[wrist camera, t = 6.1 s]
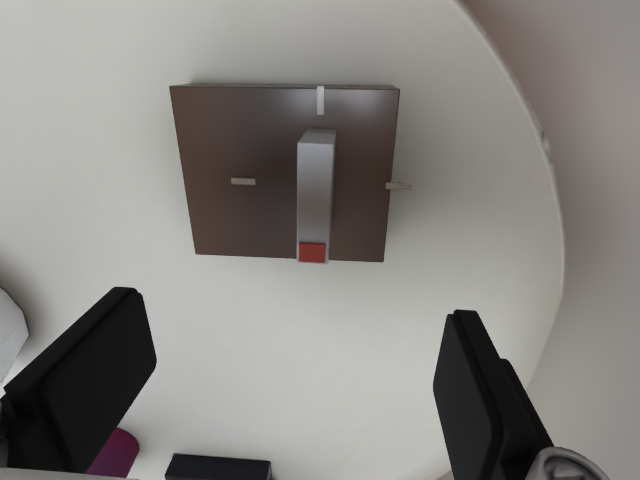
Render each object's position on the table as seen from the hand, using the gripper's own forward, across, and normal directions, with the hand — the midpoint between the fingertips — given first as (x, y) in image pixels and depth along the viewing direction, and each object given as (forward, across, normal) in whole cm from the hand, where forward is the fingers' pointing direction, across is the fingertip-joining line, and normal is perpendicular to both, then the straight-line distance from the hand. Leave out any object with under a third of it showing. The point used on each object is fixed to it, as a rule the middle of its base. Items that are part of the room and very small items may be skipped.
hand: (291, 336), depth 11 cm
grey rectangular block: (+11, 0, -1) cm, 11 cm away
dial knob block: (+14, +2, -2) cm, 15 cm away
